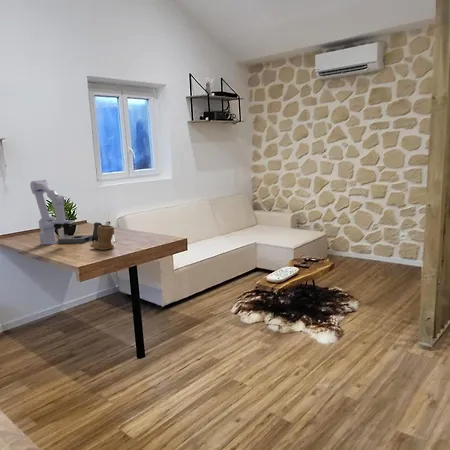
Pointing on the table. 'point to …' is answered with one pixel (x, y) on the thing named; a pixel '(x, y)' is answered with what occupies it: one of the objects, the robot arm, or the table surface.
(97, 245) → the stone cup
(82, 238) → the square hole plate
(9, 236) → the table surface
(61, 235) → the steel peg
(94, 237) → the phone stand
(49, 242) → the robot arm
